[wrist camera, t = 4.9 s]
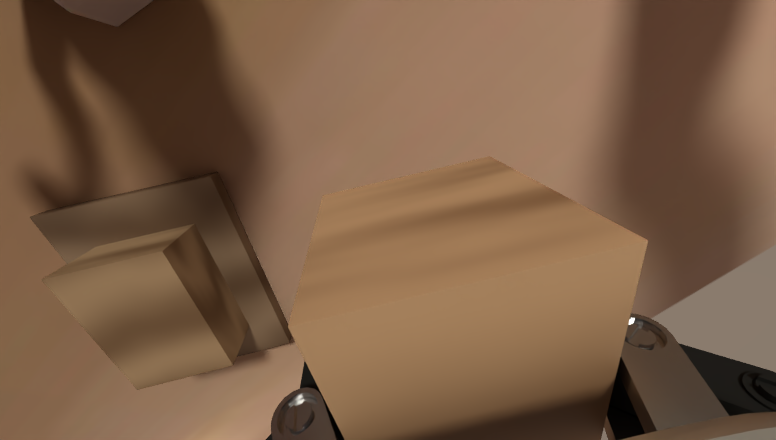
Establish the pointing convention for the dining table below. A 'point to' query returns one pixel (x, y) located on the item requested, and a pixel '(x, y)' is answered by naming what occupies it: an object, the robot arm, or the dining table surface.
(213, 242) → the pedestal board
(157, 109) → the dining table surface
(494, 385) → the tan block
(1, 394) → the dining table surface
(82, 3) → the toy
